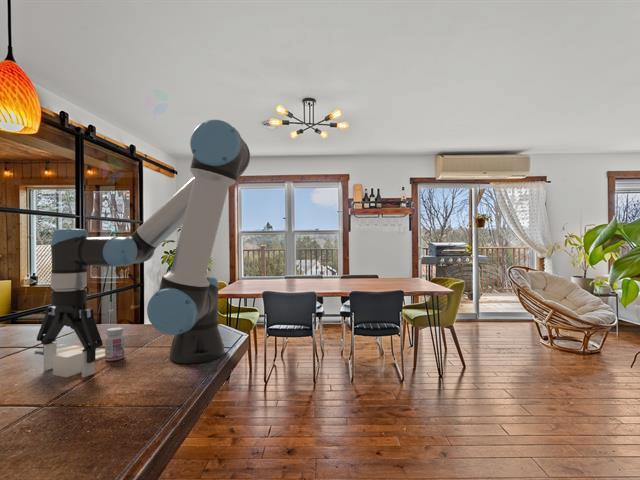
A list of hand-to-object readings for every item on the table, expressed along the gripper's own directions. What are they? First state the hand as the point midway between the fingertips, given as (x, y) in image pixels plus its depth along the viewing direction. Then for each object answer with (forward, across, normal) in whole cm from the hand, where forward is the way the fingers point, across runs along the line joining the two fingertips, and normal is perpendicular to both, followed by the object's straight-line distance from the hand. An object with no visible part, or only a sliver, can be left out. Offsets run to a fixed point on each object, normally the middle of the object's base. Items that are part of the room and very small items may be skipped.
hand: (68, 372), depth 91 cm
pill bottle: (0, -2, -12) cm, 12 cm away
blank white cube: (0, 0, 0) cm, 0 cm away
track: (0, +14, -12) cm, 18 cm away
